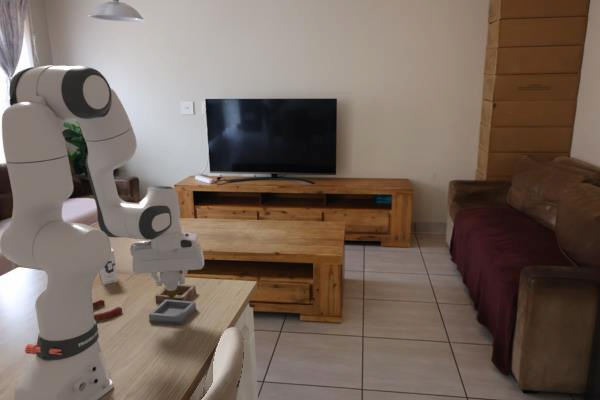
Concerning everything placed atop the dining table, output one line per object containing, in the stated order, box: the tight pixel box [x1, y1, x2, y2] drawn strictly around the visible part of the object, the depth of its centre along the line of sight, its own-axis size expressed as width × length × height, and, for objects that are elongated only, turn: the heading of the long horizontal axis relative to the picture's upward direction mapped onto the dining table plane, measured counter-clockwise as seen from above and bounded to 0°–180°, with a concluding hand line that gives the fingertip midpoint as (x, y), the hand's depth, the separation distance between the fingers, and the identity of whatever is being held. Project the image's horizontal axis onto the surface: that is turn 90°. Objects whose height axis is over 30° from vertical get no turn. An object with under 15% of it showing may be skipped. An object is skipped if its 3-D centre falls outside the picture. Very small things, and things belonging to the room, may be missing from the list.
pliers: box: [92, 299, 123, 323], centre depth 135 cm, size 12×20×3 cm, turn 145°
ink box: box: [98, 246, 118, 285], centre depth 164 cm, size 8×5×12 cm, turn 32°
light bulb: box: [159, 270, 182, 298], centre depth 135 cm, size 6×6×10 cm
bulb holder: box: [154, 283, 197, 304], centre depth 149 cm, size 9×9×2 cm
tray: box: [148, 299, 197, 326], centre depth 137 cm, size 10×10×2 cm
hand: (170, 284), depth 136 cm, fingers closed on light bulb, 5 cm apart
